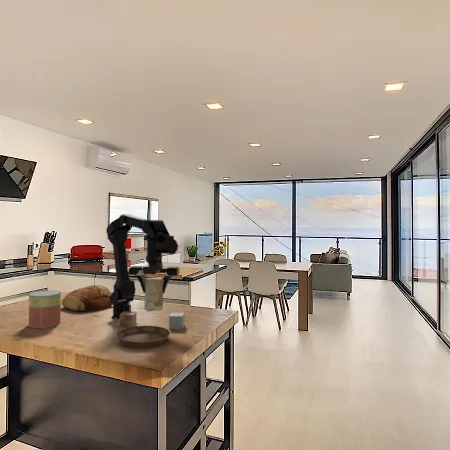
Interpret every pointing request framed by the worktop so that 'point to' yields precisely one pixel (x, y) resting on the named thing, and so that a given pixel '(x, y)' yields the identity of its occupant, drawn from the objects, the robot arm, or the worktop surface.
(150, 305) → the skincare box
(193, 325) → the worktop surface
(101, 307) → the bread
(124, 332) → the plant saucer
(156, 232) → the robot arm
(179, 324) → the slate grey block
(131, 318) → the walnut block
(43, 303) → the canned food
